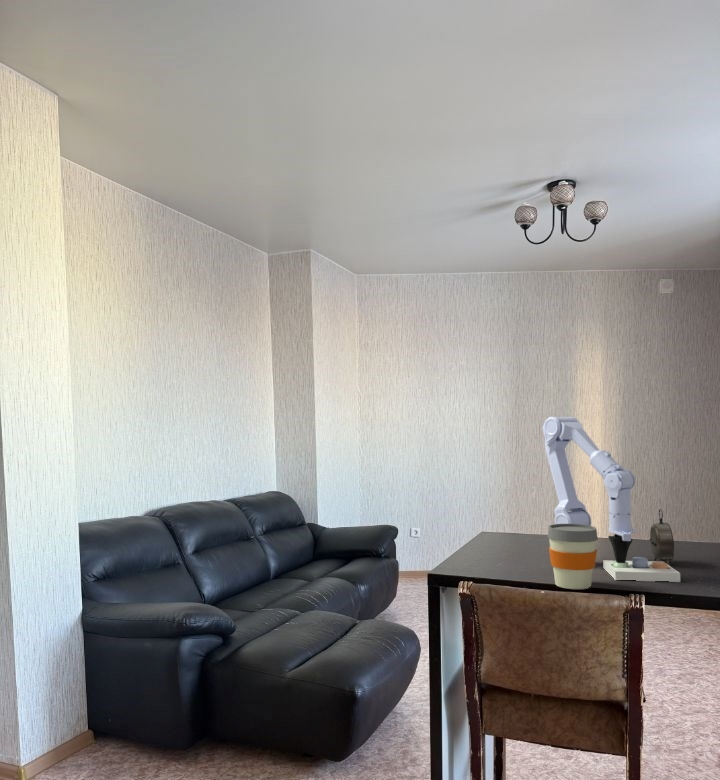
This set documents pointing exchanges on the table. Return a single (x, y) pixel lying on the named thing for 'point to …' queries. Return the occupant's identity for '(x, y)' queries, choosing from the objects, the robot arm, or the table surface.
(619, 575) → the panel
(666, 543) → the alarm clock
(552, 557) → the reusable coffee cup
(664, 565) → the terracotta button
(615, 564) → the sage button
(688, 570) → the table surface
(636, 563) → the slate button
